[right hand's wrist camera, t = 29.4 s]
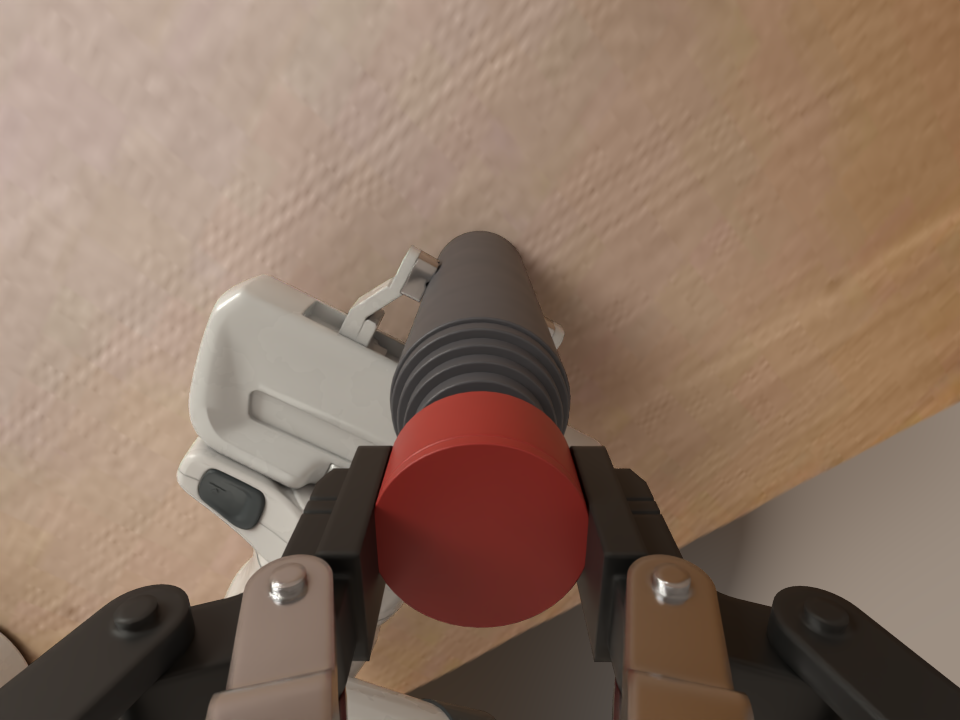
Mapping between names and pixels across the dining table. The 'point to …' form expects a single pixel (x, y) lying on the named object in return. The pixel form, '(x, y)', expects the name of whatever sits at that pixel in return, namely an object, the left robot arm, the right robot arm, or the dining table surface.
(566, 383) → the bottle
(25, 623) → the dining table surface
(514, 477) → the cap
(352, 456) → the left robot arm
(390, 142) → the dining table surface
